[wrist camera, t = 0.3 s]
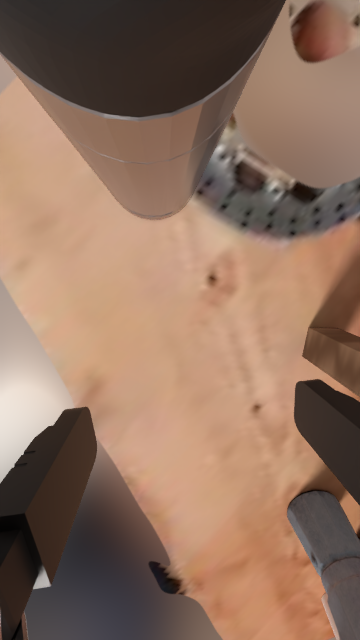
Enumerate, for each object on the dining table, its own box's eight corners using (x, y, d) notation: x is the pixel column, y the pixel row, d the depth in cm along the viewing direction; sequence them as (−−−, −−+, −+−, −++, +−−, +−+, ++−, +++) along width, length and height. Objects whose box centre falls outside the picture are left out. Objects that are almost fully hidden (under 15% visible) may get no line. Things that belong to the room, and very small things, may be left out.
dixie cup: (346, 578, 44) (398, 668, 34) (358, 597, 46) (409, 685, 37) (309, 595, 45) (349, 687, 35) (322, 612, 47) (363, 704, 37)
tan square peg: (308, 327, 28) (386, 365, 18) (337, 328, 28) (429, 365, 18) (302, 356, 29) (372, 406, 19) (330, 356, 29) (413, 405, 19)
